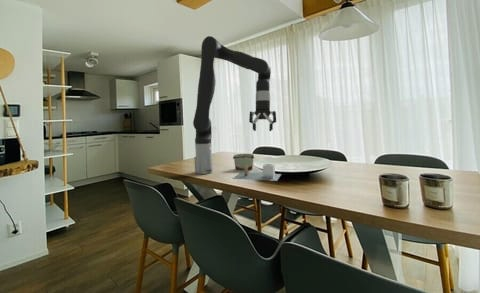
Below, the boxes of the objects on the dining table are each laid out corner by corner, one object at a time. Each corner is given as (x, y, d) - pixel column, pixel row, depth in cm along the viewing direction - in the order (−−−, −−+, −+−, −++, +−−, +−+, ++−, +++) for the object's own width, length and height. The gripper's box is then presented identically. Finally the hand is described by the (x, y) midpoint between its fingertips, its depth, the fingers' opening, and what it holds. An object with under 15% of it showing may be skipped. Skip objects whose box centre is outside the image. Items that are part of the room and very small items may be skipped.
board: (232, 181, 117) (232, 168, 116) (240, 175, 130) (240, 163, 129) (277, 183, 110) (277, 170, 109) (281, 176, 123) (281, 164, 122)
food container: (255, 170, 142) (254, 153, 141) (254, 172, 136) (254, 155, 135) (234, 170, 143) (234, 153, 142) (233, 172, 137) (232, 155, 136)
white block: (263, 177, 116) (262, 165, 116) (265, 175, 121) (264, 163, 120) (273, 178, 115) (273, 166, 114) (274, 175, 120) (274, 164, 119)
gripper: (247, 100, 124) (247, 131, 125) (274, 99, 119) (274, 131, 121) (251, 101, 131) (251, 130, 133) (277, 100, 126) (277, 130, 128)
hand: (262, 130), depth 127 cm, fingers open, 8 cm apart
